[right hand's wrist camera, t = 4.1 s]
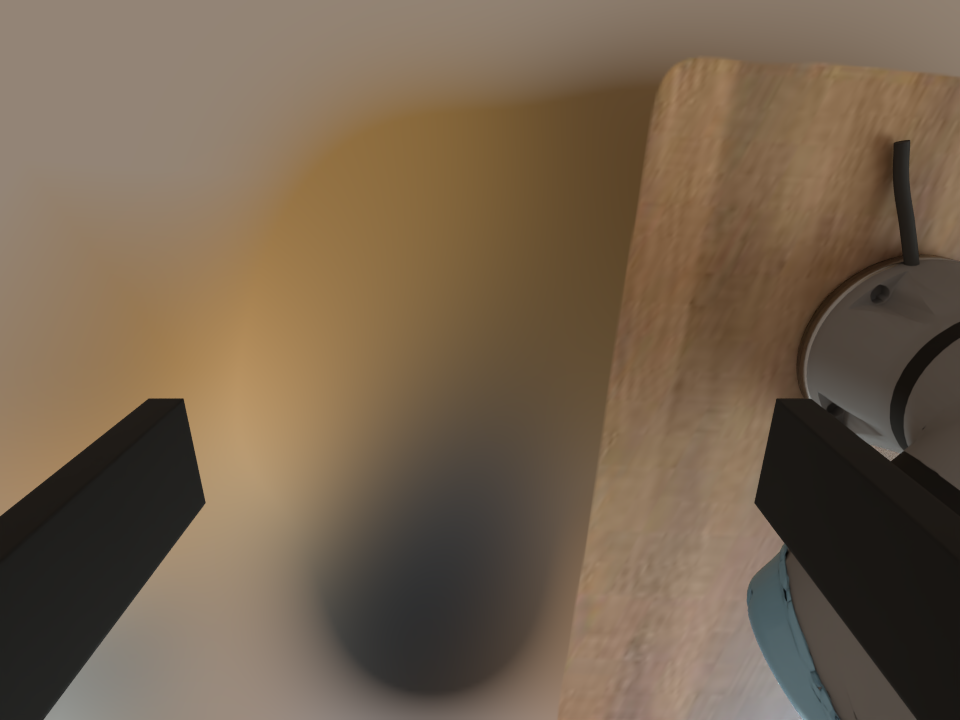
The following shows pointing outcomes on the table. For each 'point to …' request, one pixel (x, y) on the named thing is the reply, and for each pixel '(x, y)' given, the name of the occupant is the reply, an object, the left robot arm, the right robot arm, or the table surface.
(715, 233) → the table surface
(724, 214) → the table surface
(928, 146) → the table surface
